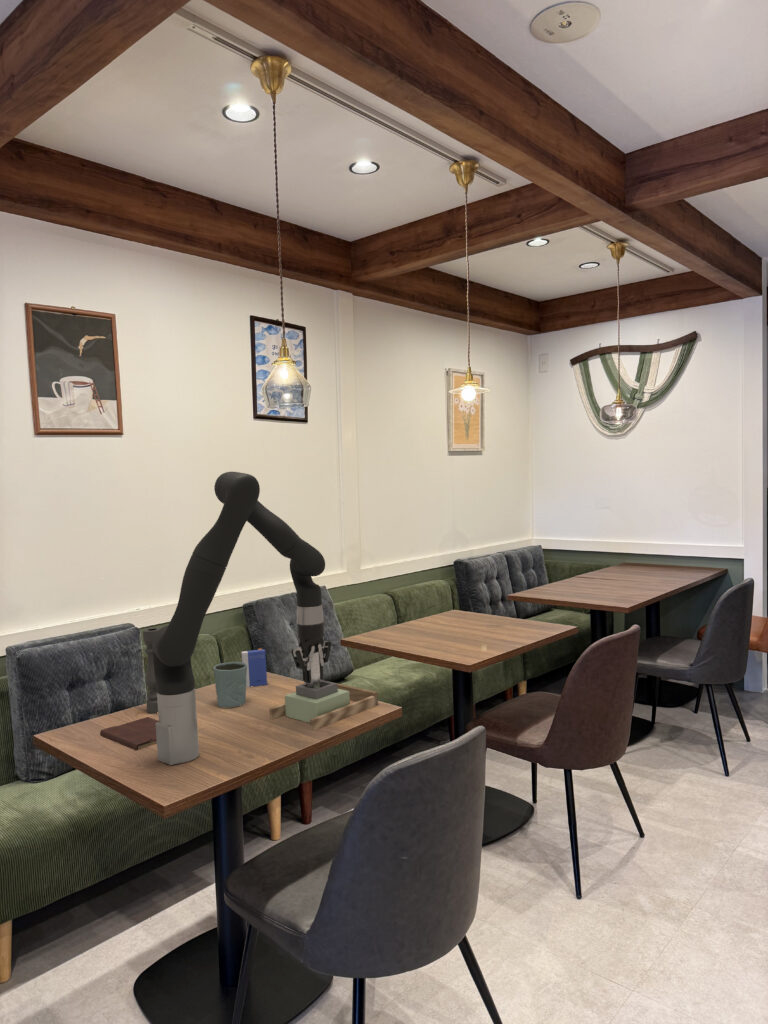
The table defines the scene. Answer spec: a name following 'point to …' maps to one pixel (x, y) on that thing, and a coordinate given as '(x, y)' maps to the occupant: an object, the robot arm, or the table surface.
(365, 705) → the bay
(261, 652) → the walkman
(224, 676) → the teal cup
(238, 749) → the table surface
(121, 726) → the notebook
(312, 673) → the handle
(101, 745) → the table surface
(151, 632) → the candle holder
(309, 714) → the green stepped block
